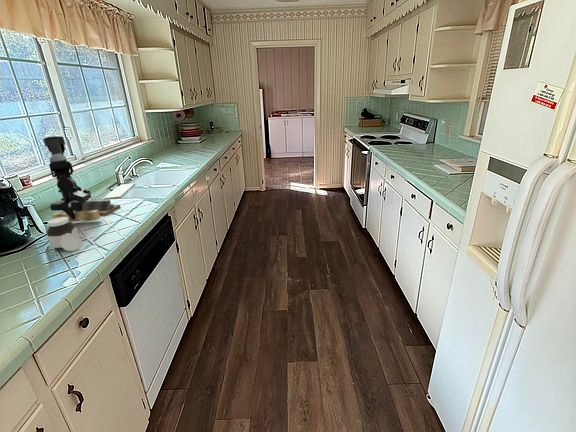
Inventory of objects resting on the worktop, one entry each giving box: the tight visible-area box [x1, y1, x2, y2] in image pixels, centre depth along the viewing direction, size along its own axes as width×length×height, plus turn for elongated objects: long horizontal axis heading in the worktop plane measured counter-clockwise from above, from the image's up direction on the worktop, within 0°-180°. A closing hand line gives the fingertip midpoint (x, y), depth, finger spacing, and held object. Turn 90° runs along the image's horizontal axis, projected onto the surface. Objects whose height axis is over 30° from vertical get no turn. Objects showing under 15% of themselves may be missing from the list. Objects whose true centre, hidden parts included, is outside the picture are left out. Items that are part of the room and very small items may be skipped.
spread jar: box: [46, 217, 82, 252], centre depth 125 cm, size 12×11×12 cm
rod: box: [51, 210, 101, 223], centre depth 151 cm, size 20×4×4 cm, turn 92°
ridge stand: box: [74, 199, 121, 216], centre depth 167 cm, size 20×12×6 cm, turn 82°
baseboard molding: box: [101, 181, 136, 200], centre depth 202 cm, size 31×3×12 cm
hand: (77, 217), depth 152 cm, fingers closed on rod, 4 cm apart
